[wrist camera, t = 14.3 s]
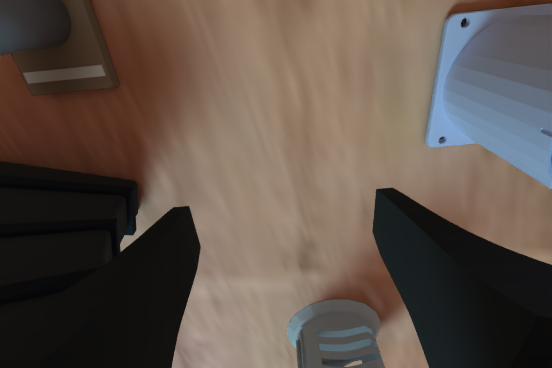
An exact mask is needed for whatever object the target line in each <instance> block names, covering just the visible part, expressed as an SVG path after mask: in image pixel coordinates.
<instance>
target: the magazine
mask: <svg viewBox="0 0 552 368" xmlns="http://www.w3.org/2000/svg"><path fill="white" fill-rule="evenodd" d="M137 213H138V204H137V185H136V182H134V181H131V180H124V179H117V178H110V177H103V176H96V175H89V174H82V173H75V172H68V171H62V170H55V169H48V168H41V167H34V166H27V165H20V164H13V163H6V162H0V325H1V324H3V323H5V322H7V321H9V320H11V319H13V318H15V317H17V316H19V315H21V314H23V313H25V312H27V311H29V310H31V309H33V308H35V307H36V306H38V305H40V304H42V303H44V302H46V301H47V300H49V299H51V298H53V297H54V296H56V295H58V294H59V293H61V292H63V291H64V290H66V289H68V288H69V287H71V286H73V285H74V284H76V283H78V282H79V281H81V280H83V279H84V278H86V277H87V276H89V275H90V274H92V273H93V272H95V271H96V270H97V269H99V268H100V267H102V266H103V265H105V264H106V263H107V262H109V261H110V260H111V259H113V258H114V257H115V256H117V255H118V254H119V253H120V243H121V241H122V239H123V237H124V235H134V233H135V231H136V215H137Z"/></svg>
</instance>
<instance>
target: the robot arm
mask: <svg viewBox="0 0 552 368" xmlns="http://www.w3.org/2000/svg"><path fill="white" fill-rule="evenodd" d="M464 18H466V24H465V25H464V26H463V27H461V21H462V20H463V19H464ZM441 137H444V138H443V140H441V141H438V140H439V138H441ZM425 143H426V144H427V145H428V146H430V147H443V146H454V145H464V144H475V143H478V144H480V145H481V146H483V147H485V148H486V149H488V150H489V151H491V152H493V153H494V154H496V155H497V156H499V157H501V158H502V159H504V160H505V161H507V162H509V163H510V164H512V165H514V166H515V167H517V168H518V169H520V170H522V171H523V172H525V173H526V174H528V175H530V176H531V177H533V178H534V179H536V180H538V181H539V182H541V183H542V184H544V185H546V186H547V187H549V188H550V189H552V3H549V4H539V5H530V6H520V7H511V8H501V9H492V10H482V11H473V12H463V13H455V14H451V15H450V16H449V17H448V18H447V19H446V21H445V24H444V29H443V35H442V41H441V47H440V53H439V59H438V65H437V71H436V77H435V83H434V89H433V95H432V101H431V107H430V113H429V119H428V125H427V131H426V138H425ZM373 234H374V238H375V241H376V244H377V247H378V249H379V252H380V255H381V257H382V259H383V261H384V263H385V265H386V267H387V269H388V271H389V273H390V275H391V277H392V279H393V281H394V283H395V285H396V287H397V289H398V291H399V293H400V295H401V297H402V299H403V301H404V303H405V305H406V307H407V310H408V312H409V314H410V316H411V319H412V322H413V324H414V327H415V330H416V332H417V335H418V337H419V340H420V343H421V346H422V348H423V351H424V354H425V357H426V360H427V362H428V365H429V368H552V265H550V264H547V263H544V262H541V261H538V260H536V259H533V258H530V257H528V256H525V255H522V254H519V253H517V252H514V251H511V250H509V249H506V248H504V247H502V246H499V245H497V244H494V243H492V242H490V241H488V240H486V239H483V238H481V237H479V236H477V235H474V234H472V233H470V232H468V231H466V230H464V229H462V228H461V227H459V226H457V225H455V224H453V223H451V222H449V221H447V220H446V219H444V218H442V217H440V216H439V215H437V214H435V213H434V212H432V211H430V210H429V209H427V208H425V207H424V206H422V205H420V204H419V203H417V202H416V201H414V200H412V199H411V198H409V197H408V196H406V195H404V194H403V193H401V192H399V191H398V190H396V189H394V188H384V189H376V199H375V210H374V221H373ZM200 247H201V246H200V243H199V239H198V236H197V232H196V229H195V225H194V222H193V218H192V215H191V211H190V208H189V206H184V207H173V208H172V209H171V210H170V211H168V212H167V213H166V214H165V215H164V216H162V217H161V218H160V219H159V220H158V221H157V222H156V223H155V224H153V225H152V226H151V227H150V228H149V229H148V230H147V231H146V232H144V233H143V234H142V235H141V236H140V237H139V238H138V239H136V240H135V241H134V242H133V243H131V244H130V245H129V246H128V247H126V248H125V249H124V250H123V251H122V252H120V253H119V254H118V255H117V256H115V257H114V258H113V259H111V260H110V261H109V262H107V263H106V264H105V265H103V266H102V267H100V268H99V269H97V270H96V271H95V272H93V273H92V274H90V275H89V276H87V277H86V278H84V279H83V280H81V281H79V282H78V283H76V284H74V285H73V286H71V287H69V288H68V289H66V290H64V291H63V292H61V293H59V294H58V295H56V296H54V297H53V298H51V299H49V300H47V301H46V302H44V303H42V304H40V305H38V306H36V307H35V308H33V309H31V310H29V311H27V312H25V313H23V314H21V315H19V316H17V317H15V318H13V319H11V320H9V321H7V322H5V323H3V324H1V325H0V368H171V367H172V361H173V356H174V351H175V346H176V341H177V336H178V332H179V328H180V324H181V321H182V317H183V314H184V311H185V308H186V304H187V301H188V298H189V295H190V291H191V288H192V285H193V281H194V278H195V275H196V271H197V266H198V261H199V254H200Z"/></svg>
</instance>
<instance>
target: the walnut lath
mask: <svg viewBox="0 0 552 368" xmlns="http://www.w3.org/2000/svg"><path fill="white" fill-rule="evenodd" d="M61 1H62V2H63V3H64V5H65V7H66V9H67V11H68V13H69V16H70V21H71V31H70V34H69V37H68V38H67V40H66V41H65V42H64V43H62V44H61V45H59V46H54V47H48V48H42V49H35V50H29V51H23V52H16V53H11V54H12V56H13V59H14V61H15V63H16V65H17V67H18V69H19V71H20V73H21V75H22V77H23V79H24V81H25V83H26V85H27V87H28V89H29V91H30V93H31V95H32V96H35V95H44V94H54V93H64V92H74V91H84V90H94V89H104V88H113V87H116V86H118V85H119V82H118V79H117V77H116V74H115V71H114V68H113V65H112V62H111V59H110V56H109V53H108V50H107V47H106V44H105V42H104V39H103V36H102V33H101V30H100V27H99V24H98V21H97V18H96V15H95V12H94V9H93V7H92V4H91V1H90V0H61Z"/></svg>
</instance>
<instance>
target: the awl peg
mask: <svg viewBox="0 0 552 368" xmlns="http://www.w3.org/2000/svg"><path fill="white" fill-rule="evenodd" d="M70 31H71V21H70V16H69V13H68V11H67V9H66V7H65V5H64V3H63V2H62V1H61V0H0V55H4V54H10V53H16V52H23V51H29V50H35V49H42V48H48V47H54V46H59V45H61V44H62V43H64V42H65V41H66V40H67V38H68V37H69V34H70Z"/></svg>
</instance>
